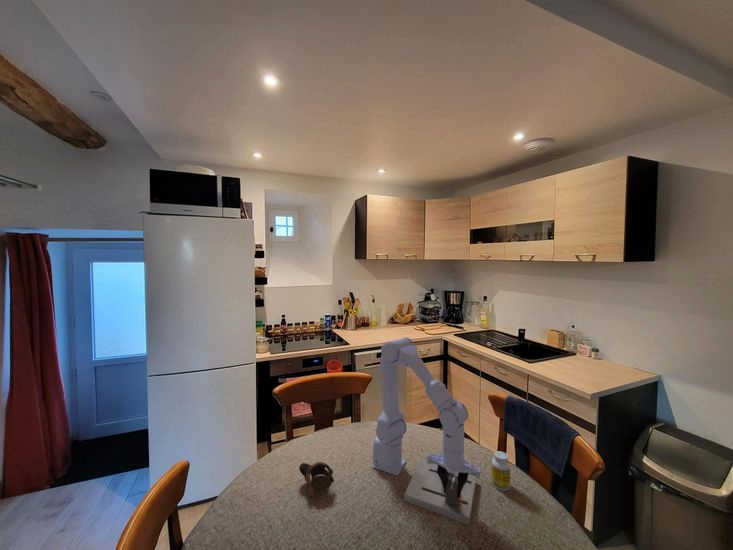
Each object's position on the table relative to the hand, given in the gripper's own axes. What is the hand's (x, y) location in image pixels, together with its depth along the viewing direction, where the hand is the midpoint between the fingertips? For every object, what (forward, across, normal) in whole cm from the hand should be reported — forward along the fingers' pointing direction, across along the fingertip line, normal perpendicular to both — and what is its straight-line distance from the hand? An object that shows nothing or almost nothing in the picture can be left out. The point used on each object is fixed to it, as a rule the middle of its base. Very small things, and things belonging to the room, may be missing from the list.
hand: (452, 493), depth 84 cm
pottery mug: (+4, -39, -11) cm, 41 cm away
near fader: (+1, 0, 0) cm, 1 cm away
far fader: (+1, -3, +9) cm, 10 cm away
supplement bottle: (+4, +12, +15) cm, 20 cm away
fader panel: (+3, -4, +4) cm, 7 cm away
